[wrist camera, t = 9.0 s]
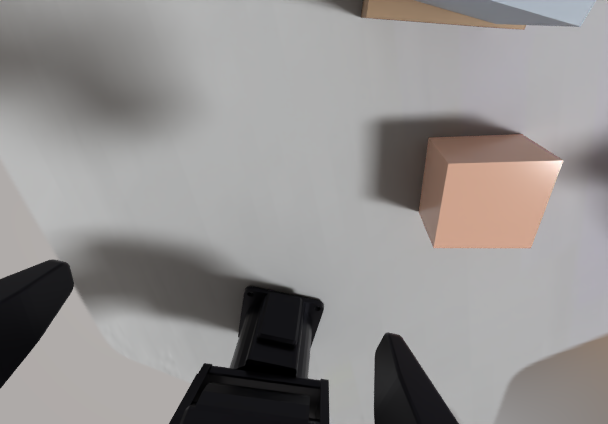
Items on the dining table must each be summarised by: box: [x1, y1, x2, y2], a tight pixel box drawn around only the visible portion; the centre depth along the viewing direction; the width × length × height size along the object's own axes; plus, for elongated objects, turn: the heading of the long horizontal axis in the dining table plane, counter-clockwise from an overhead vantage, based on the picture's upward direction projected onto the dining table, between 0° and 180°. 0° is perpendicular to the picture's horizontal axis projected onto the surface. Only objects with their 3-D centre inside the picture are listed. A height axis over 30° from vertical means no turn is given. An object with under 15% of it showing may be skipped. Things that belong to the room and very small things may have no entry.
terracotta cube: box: [419, 134, 563, 248], centre depth 18 cm, size 5×5×4 cm
